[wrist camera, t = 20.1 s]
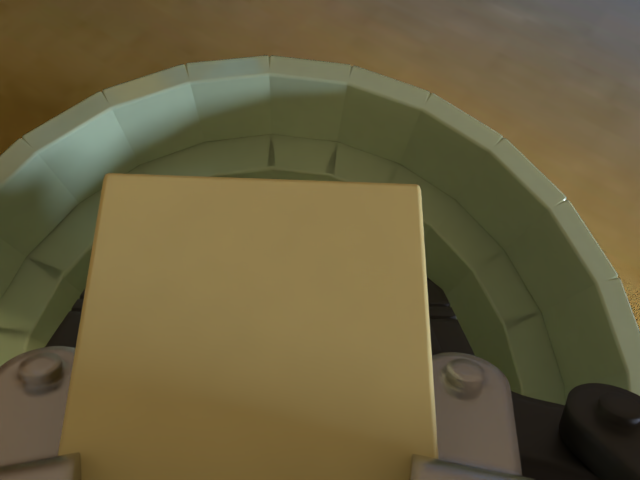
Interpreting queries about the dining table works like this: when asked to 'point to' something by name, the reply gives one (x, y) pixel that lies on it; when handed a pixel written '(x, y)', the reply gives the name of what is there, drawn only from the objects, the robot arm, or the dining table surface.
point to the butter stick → (253, 332)
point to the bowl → (328, 165)
